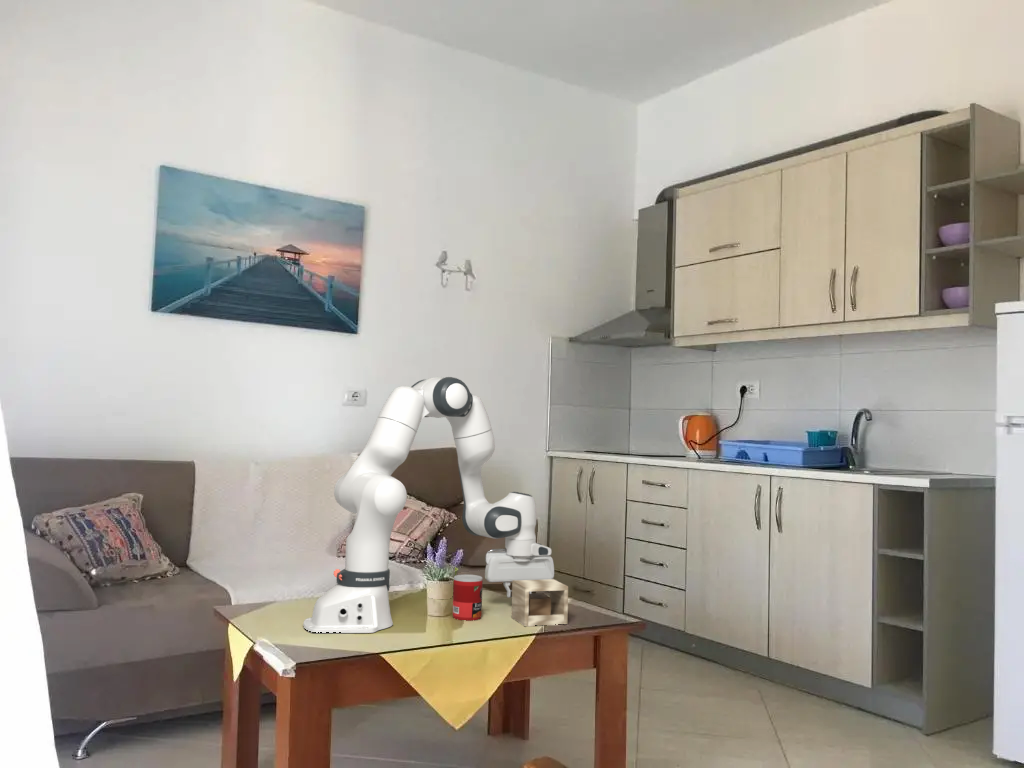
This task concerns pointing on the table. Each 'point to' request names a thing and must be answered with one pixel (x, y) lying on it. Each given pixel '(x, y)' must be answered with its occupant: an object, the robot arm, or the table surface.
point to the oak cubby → (522, 602)
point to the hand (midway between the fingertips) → (519, 596)
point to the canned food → (467, 597)
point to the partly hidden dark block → (539, 604)
